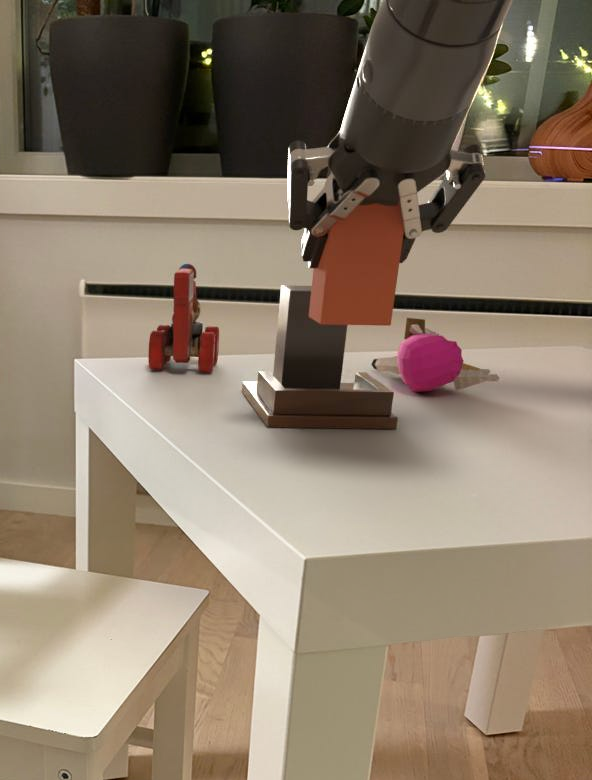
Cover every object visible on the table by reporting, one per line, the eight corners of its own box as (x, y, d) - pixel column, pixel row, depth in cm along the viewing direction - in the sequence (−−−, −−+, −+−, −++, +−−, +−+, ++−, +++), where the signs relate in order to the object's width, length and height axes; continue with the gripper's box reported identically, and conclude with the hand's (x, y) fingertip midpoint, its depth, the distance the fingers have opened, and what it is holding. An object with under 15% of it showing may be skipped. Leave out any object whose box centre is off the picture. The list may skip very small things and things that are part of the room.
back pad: (390, 325, 75) (408, 198, 71) (320, 324, 75) (334, 196, 71) (375, 318, 79) (391, 197, 75) (308, 316, 79) (320, 195, 75)
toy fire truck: (219, 358, 112) (225, 262, 108) (210, 378, 101) (217, 272, 97) (159, 355, 113) (163, 260, 109) (144, 375, 102) (148, 269, 98)
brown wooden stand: (396, 429, 82) (414, 305, 78) (267, 427, 82) (278, 302, 78) (352, 393, 96) (366, 285, 91) (241, 391, 95) (249, 283, 91)
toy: (457, 375, 107) (508, 393, 93) (370, 384, 108) (409, 403, 94) (459, 306, 105) (512, 313, 91) (370, 315, 105) (410, 324, 91)
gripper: (524, 31, 62) (433, 224, 78) (302, 24, 62) (256, 220, 78) (542, 120, 60) (444, 301, 76) (311, 114, 60) (262, 298, 75)
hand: (349, 259), depth 77 cm, fingers closed on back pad, 5 cm apart
